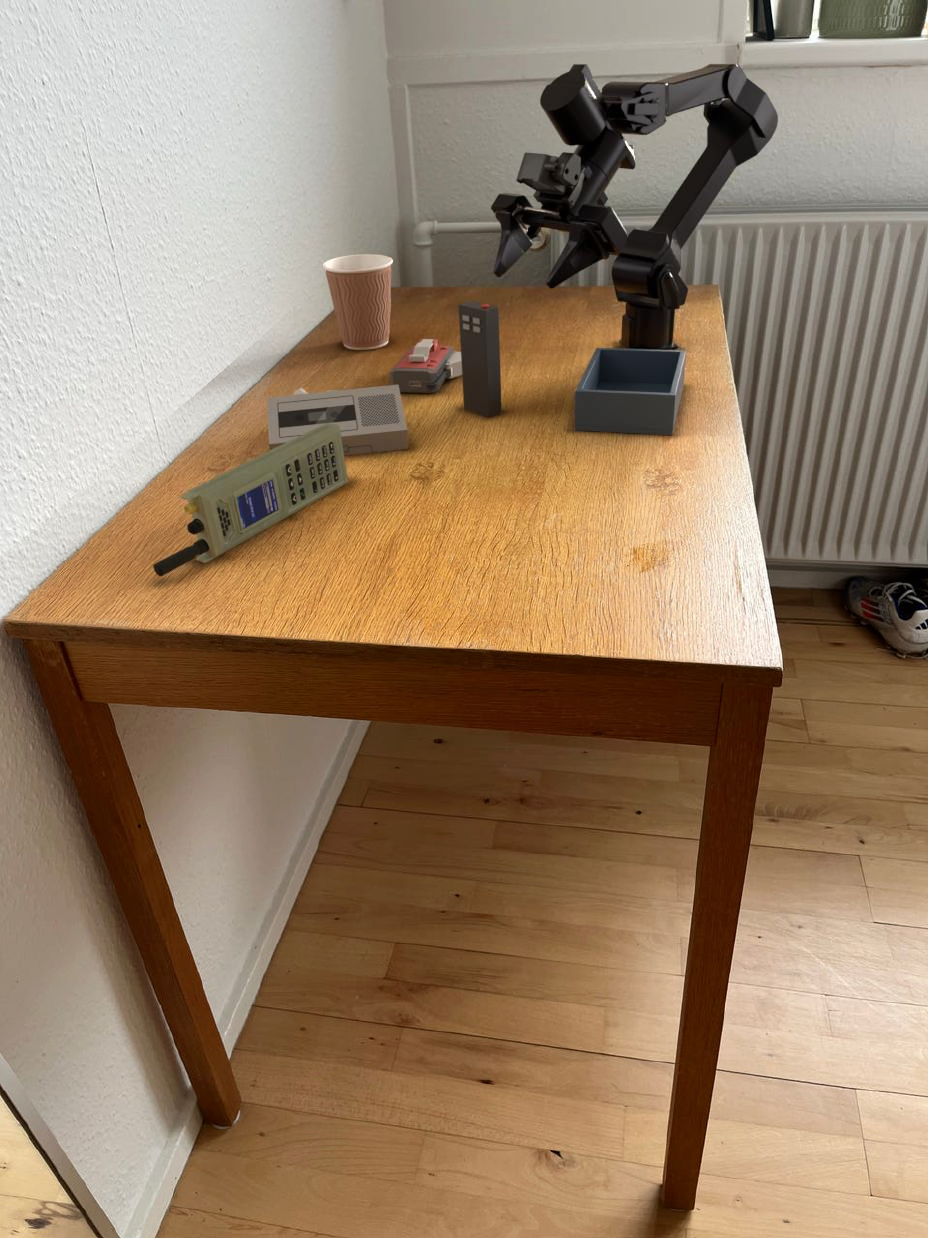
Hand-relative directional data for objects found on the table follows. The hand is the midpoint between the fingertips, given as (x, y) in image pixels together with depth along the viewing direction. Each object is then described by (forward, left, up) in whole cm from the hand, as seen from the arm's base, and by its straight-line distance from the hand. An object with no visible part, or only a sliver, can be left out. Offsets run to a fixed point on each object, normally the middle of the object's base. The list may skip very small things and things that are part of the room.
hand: (521, 280), depth 117 cm
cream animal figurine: (+26, -1, -14) cm, 30 cm away
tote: (-10, +11, -14) cm, 21 cm away
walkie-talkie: (+8, -13, -14) cm, 21 cm away
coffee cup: (+14, -31, -14) cm, 37 cm away
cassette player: (+27, +11, -13) cm, 32 cm away
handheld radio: (+38, +25, -14) cm, 48 cm away
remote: (+7, +4, -14) cm, 16 cm away
